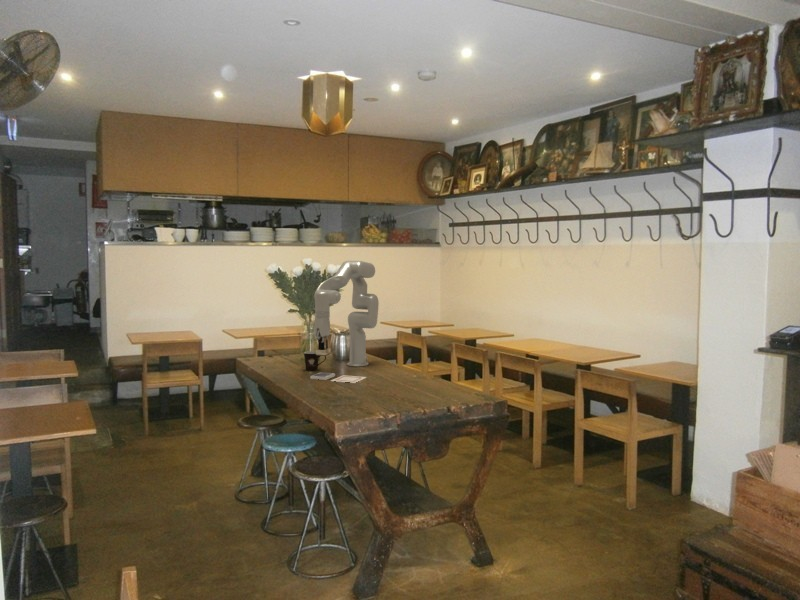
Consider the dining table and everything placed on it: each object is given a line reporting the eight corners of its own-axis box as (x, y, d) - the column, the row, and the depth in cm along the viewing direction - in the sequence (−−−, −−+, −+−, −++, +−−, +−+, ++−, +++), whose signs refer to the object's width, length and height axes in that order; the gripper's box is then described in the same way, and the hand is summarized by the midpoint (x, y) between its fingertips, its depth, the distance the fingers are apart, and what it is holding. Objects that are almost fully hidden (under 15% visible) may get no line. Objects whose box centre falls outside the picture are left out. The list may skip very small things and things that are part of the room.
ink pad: (320, 374, 337) (320, 372, 337) (335, 376, 334) (335, 373, 334) (310, 378, 327) (310, 375, 327) (325, 380, 324) (325, 377, 324)
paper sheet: (343, 375, 335) (343, 375, 335) (366, 377, 330) (366, 376, 330) (330, 381, 321) (330, 380, 321) (354, 383, 316) (354, 382, 316)
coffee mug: (301, 370, 348) (301, 353, 347) (308, 368, 356) (308, 350, 355) (320, 372, 344) (319, 354, 344) (326, 369, 352) (326, 352, 352)
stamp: (321, 353, 334) (321, 331, 333) (330, 354, 332) (330, 332, 331) (315, 355, 328) (315, 333, 327) (325, 356, 326) (324, 334, 325)
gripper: (323, 312, 337) (324, 346, 339) (308, 316, 321) (309, 351, 323) (335, 313, 334) (336, 346, 336) (321, 317, 319) (322, 352, 321)
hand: (323, 348), depth 330 cm, fingers closed on stamp, 3 cm apart
